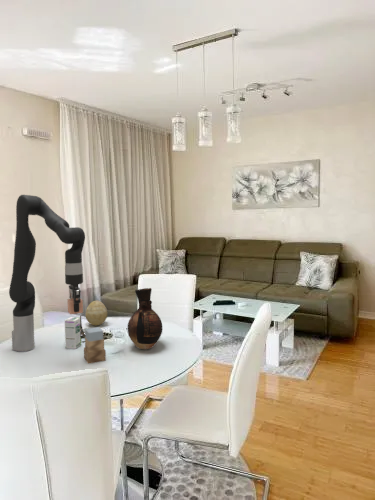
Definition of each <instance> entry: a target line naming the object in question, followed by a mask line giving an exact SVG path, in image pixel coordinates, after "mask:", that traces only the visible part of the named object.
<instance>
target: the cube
mask: <svg viewBox="0 0 375 500" xmlns="http://www.w3.org/2000/svg"><path fill="white" fill-rule="evenodd" d="M66 300H67V312H68V313H69V315H74V314H82V313H84V305H83V303H84V301H83V299H82V298H81V297H80V301H81V302H80V303H79V312H74V303H73V299H70V298H68V299H66ZM76 300H78V299H77V298H76Z"/></svg>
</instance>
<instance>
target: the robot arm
mask: <svg viewBox="0 0 375 500" xmlns="http://www.w3.org/2000/svg"><path fill="white" fill-rule="evenodd" d="M15 206H16V207H15V208H16V211H15V212H16V229H15V241H14V248H13V249H14V250H13V263H12V274H11V279H10V284H9V285H10V286H9V289H8V294H9V298H10V300H11V301H12V302H14V303H16V304H15V306H14V308H13V310H12V325H13V329H12V330H11V347H12V351H15V352H28V351H31V350H33V349H35V347H36V346H35V322H34V320H35V317H34V314H35V313H34V311H35V306H36V291H35V289H36V288H35V286H34V284H33V283H32V282H30V281H28V277H29V272H30V269H31V268H32V266H33V262H34V260H35V257H36V247H37V243H36V238H35V237H34V235H33V233H32V231H31V228H30V225H29V216H39V217H40V218H42V219H44V223H45V225H46V226H47V228H49V229H50V230H51V231H52V232H54V233H55V234H56V235H57V237H58V239H59V240H60V241H61V242H62V243H64V244H65V245H71V247H70V248H69V249H66V250H65V252H64V260H65V261H64V264H65V265H64V278H65V279H64V280H65V283H64V284H66V285H68V292H69V294H68V295H69V298H68V299H73V303H74V312H79V303H80V302H81V301H80V298H81V292H82V291H81V288H80V287H79V285H81V284H84V274H83V273H84V272H83V271H84V269H83V257H82V255H83V254H82V253H83V249H84V245H85V240H86V234H85V231H84V230H83V228H81V227H78V226H77V227H70V224H69V222H68V221H67V220H66V219H64V218H62V217H61V216H60V215H58V214H57V213H56V212H55V211H54V210H53V209H52V208H51V207H50V206H49V205H48V204H47V203H46V202H45V201H44V199H42V198H41V197H40V196H36V195H31V194H20V195H19V196H18V197H17V200H16V205H15ZM76 298H77V299H78V300H76Z"/></svg>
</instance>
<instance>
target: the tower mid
mask: <svg viewBox="0 0 375 500" xmlns="http://www.w3.org/2000/svg"><path fill="white" fill-rule="evenodd" d="M84 341H85V342H84V347H85V348H86V350H87V351H88V352H89V353H91V352H97V351H103V350H104V349H105V339H104V338H103V340H96V341H90V342H89V341H88V340H87V339H86V337H85V338H84Z"/></svg>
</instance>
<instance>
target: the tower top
mask: <svg viewBox="0 0 375 500" xmlns="http://www.w3.org/2000/svg"><path fill="white" fill-rule="evenodd" d="M84 333H85V337H86V339H87V340H88V341H89V342H90V341H96V340H103V339H104V330H103V329H102V328H101V327H100V326H96V327H90V328H85V331H84Z"/></svg>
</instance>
